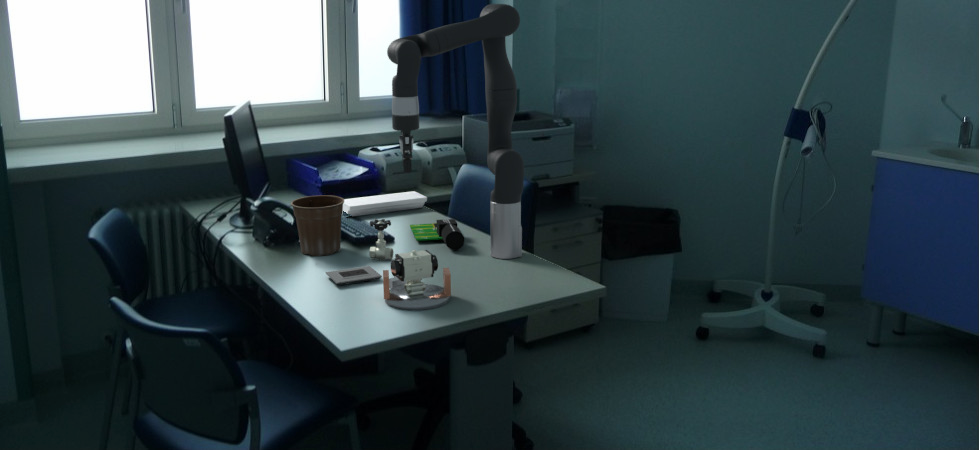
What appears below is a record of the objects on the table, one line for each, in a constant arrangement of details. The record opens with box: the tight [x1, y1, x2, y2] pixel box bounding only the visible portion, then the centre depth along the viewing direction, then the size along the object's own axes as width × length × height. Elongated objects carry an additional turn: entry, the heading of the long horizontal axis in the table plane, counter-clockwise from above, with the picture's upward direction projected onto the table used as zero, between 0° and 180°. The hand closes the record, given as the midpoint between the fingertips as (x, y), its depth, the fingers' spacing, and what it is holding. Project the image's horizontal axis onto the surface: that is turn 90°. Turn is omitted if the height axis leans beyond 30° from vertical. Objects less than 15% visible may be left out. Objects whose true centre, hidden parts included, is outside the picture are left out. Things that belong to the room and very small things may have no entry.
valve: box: [368, 218, 394, 261], centre depth 270 cm, size 7×7×12 cm
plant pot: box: [290, 194, 345, 257], centre depth 279 cm, size 16×16×16 cm
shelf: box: [343, 190, 428, 217], centre depth 329 cm, size 12×30×5 cm, turn 119°
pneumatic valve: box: [390, 249, 439, 296], centre depth 235 cm, size 6×12×12 cm, turn 115°
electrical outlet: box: [325, 265, 383, 286], centre depth 253 cm, size 13×10×2 cm
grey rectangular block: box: [389, 276, 406, 290], centre depth 247 cm, size 5×2×2 cm, turn 133°
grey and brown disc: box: [382, 267, 452, 312], centre depth 236 cm, size 18×17×8 cm
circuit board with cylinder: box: [409, 218, 465, 251], centre depth 292 cm, size 30×7×15 cm
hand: (407, 169), depth 253 cm, fingers open, 8 cm apart
